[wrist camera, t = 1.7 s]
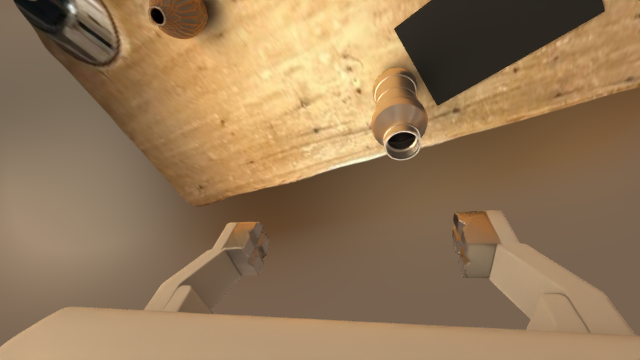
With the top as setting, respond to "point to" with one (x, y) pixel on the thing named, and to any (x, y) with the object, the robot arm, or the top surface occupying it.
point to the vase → (179, 17)
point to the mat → (483, 37)
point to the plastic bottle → (398, 114)
